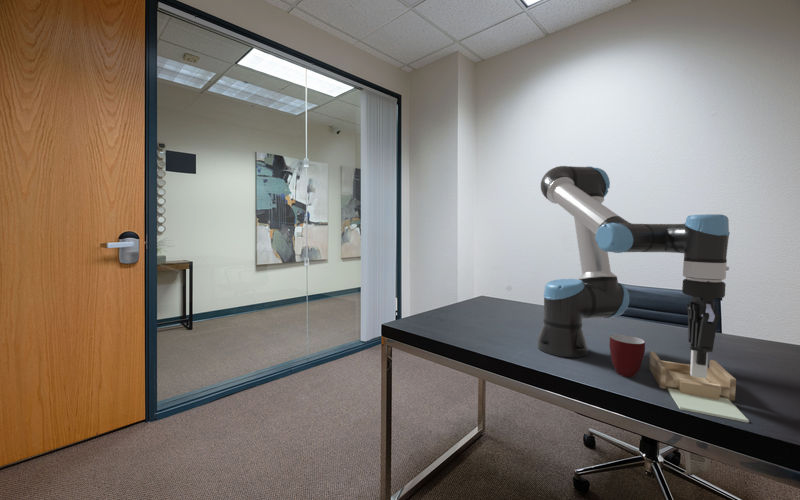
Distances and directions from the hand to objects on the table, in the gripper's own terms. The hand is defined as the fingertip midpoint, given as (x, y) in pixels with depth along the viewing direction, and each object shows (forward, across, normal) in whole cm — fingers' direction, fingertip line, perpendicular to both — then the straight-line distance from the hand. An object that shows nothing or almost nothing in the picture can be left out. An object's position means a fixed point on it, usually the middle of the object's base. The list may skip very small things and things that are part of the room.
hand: (698, 376), depth 80 cm
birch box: (+5, +7, 0) cm, 9 cm away
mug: (+5, +7, +14) cm, 16 cm away
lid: (+5, -5, 0) cm, 7 cm away
